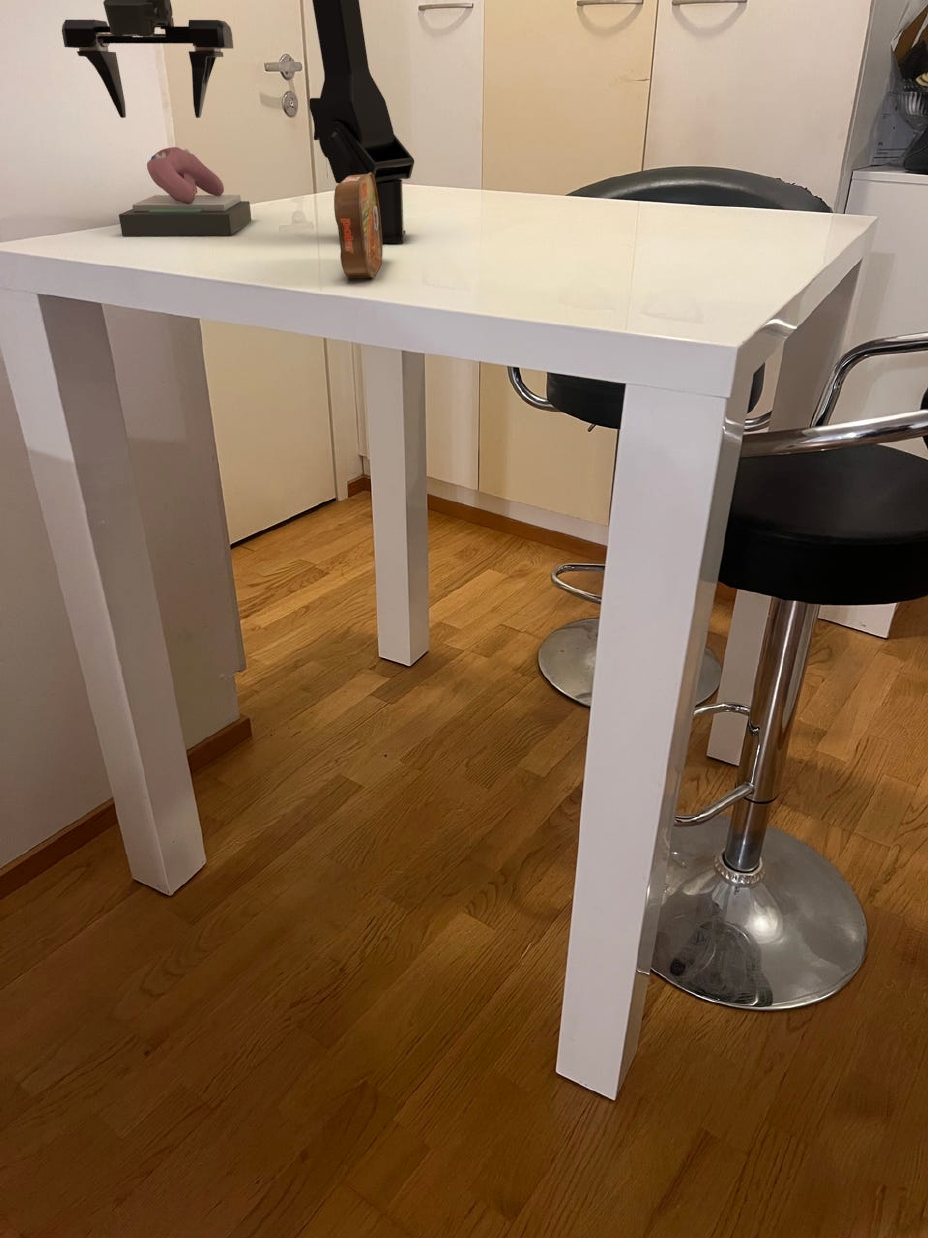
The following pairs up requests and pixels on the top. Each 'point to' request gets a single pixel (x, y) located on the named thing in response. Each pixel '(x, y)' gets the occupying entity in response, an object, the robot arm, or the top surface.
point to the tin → (359, 225)
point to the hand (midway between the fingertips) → (160, 117)
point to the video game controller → (182, 174)
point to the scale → (186, 216)
